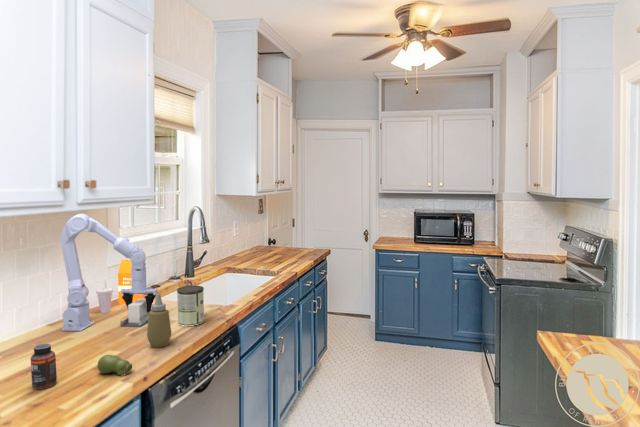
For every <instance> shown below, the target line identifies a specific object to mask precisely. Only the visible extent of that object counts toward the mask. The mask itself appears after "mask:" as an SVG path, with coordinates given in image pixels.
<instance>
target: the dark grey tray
mask: <svg viewBox="0 0 640 427" xmlns="http://www.w3.org/2000/svg"><path fill="white" fill-rule="evenodd" d="M151 311H152V308H151ZM148 317H149V314H148V315H147V316H145V317H144V318H142V319H141V320H140V321H139V323H129V319H128V315H127V316H125V317H124V318H123V319H121V320H120V323H119V324H120V327H133V328H137V327H140V328H141V327H143V326H144V325H145V324H147V323H148Z"/></svg>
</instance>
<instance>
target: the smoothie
mask: <svg viewBox="0 0 640 427" xmlns="http://www.w3.org/2000/svg"><path fill="white" fill-rule="evenodd" d="M113 291H114V290H113V288H110V287H109V288H108V287H107V279H104V288H99V289H97V290H96V294H97V295H96V296H97V299H98V305H99V312H100V313H101V314H107V313H110V312H111V303H112V295H113Z"/></svg>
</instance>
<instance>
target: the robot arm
mask: <svg viewBox="0 0 640 427" xmlns="http://www.w3.org/2000/svg"><path fill="white" fill-rule="evenodd" d="M85 230H86V232H88V233H96V234H97V235H99V236H100V237H102V238H103V239H104V240H107V242H110V243H111V244H112V245H113V246H112V248H113V250H115V251H116V252H118V253H119V254H121V255H122V256H123V257H125V258H127V259H129V260H130V261H131V265H132V268H131V288H130V289H121V295H123V296H122V299H123V300H124V301H125V303H126V304H125V305H126V308H127V309H128V305H129V304H131V303H132V302H133V294H144V299H146V304H147V313H149V312H150V311H151V309H152V306H151V305H153V304H154V301H155V299H156V295H157V294H159V293H158V288H157V289H156V288H148V287H147V267H146V265H147V264H146V263H147V262H146V260H147V255H146V252H145V251H144V250H143V248H140V246H139V245H135V244H134V243H132V242H131V241H130V239H129V238H128V237H127V238H125V237H119V236H117V235H115V234H114V233H113V232H112V231H110V230H109V229H108V228H106V226H104V225H103V224H101V223H100V222H99V221H97V220H96V219H94V218H93V217H90V216H88V215H87V213H86V214H85V213H83V212H82V213H76V215H74V216H72V217H71V218H70V219H68V221H66V222H65V225H64V227H63V230H62V231H61V233H60V235H59V241H60V242H59V243H60V248H61V251H62V255H63V261H64V266H65V272H66V276H67V282H68V285H67V288H68V289H67V290H68V294H67V297H66V300H67V302H68V303H67V308H66V309H65V310H64V311H63V313H62V324H63V325H62V328H61V329H60V330H61V332H62V331H63V332H65V331H68V332H70V331H71V332H81V331H83V330H85V329H87V328H88V327H90V326H92V325H93V324H95V321H91V320H90V319H91V318H90V301H89V300H88V299H87V298H88V296H89V292H90V291H89V288H88V287H87V286H86V284H85V281H84V279H83V275H82V269H81V265H80V259H79V255H78V249H77V245H76V238H78V236H79V235H80V233H82V232H83V231H85Z"/></svg>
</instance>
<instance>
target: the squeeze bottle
mask: <svg viewBox="0 0 640 427" xmlns="http://www.w3.org/2000/svg"><path fill="white" fill-rule="evenodd" d="M166 305H167V304H166V303H164V302H163V300H162V296H161V294H160V293H158V294H156V296H155V299H154V303H152V305H151V306H152V307H151V309H152V311H150V312H149V317H148V322H147V331H146V337H147V339H148V342H149V345H150V347H152V348H155V347H157V348H162V347H163V346H164V347H166V346H168V345H169V343H170V339H171V336H172V328H171V320H170V312H169V310H168V309H167V307H166Z"/></svg>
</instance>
